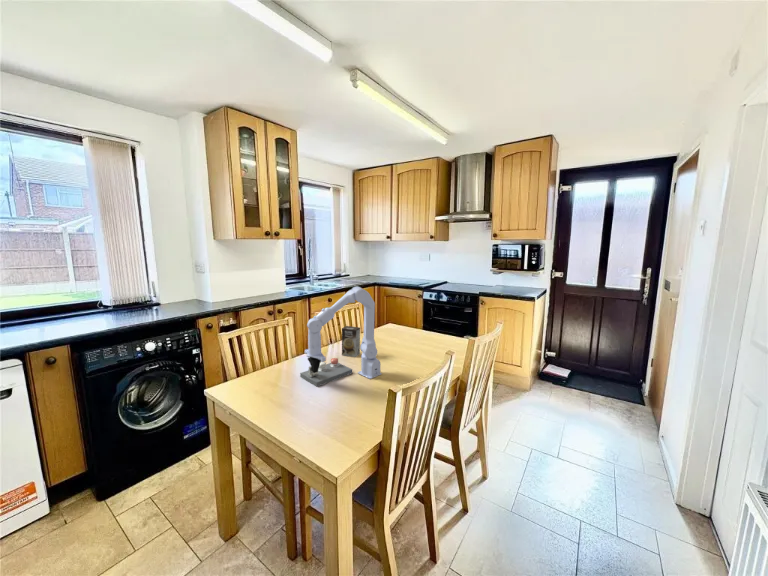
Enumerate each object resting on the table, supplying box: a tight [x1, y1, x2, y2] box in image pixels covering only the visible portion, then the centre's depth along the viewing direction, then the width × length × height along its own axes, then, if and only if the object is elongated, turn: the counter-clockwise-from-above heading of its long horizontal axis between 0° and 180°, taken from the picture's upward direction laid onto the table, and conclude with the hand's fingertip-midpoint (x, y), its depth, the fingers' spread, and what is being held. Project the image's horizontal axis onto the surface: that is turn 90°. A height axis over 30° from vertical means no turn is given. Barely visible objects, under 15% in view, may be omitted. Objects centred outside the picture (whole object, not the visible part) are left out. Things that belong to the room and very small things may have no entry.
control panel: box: [299, 362, 353, 388], centre depth 153 cm, size 14×21×2 cm, turn 135°
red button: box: [330, 357, 339, 364], centre depth 159 cm, size 4×4×2 cm
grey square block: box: [308, 365, 319, 377], centre depth 147 cm, size 3×4×4 cm
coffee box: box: [341, 325, 361, 358], centre depth 179 cm, size 9×6×16 cm
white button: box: [319, 361, 327, 369], centre depth 154 cm, size 4×4×2 cm
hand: (315, 371), depth 146 cm, fingers closed
